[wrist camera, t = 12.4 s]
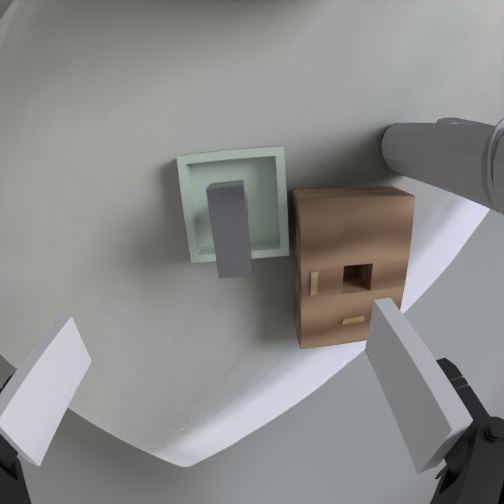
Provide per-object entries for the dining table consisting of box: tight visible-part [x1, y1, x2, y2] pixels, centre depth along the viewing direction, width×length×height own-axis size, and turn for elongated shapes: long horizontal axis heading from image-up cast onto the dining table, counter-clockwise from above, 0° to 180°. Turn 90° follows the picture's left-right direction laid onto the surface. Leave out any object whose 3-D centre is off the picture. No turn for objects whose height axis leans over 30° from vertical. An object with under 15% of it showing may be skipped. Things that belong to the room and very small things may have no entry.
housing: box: [292, 186, 415, 349], centre depth 37 cm, size 20×14×6 cm
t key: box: [206, 180, 253, 278], centre depth 30 cm, size 3×8×12 cm, turn 6°
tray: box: [177, 146, 289, 263], centre depth 35 cm, size 13×12×3 cm
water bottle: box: [381, 118, 504, 215], centre depth 22 cm, size 9×8×25 cm
